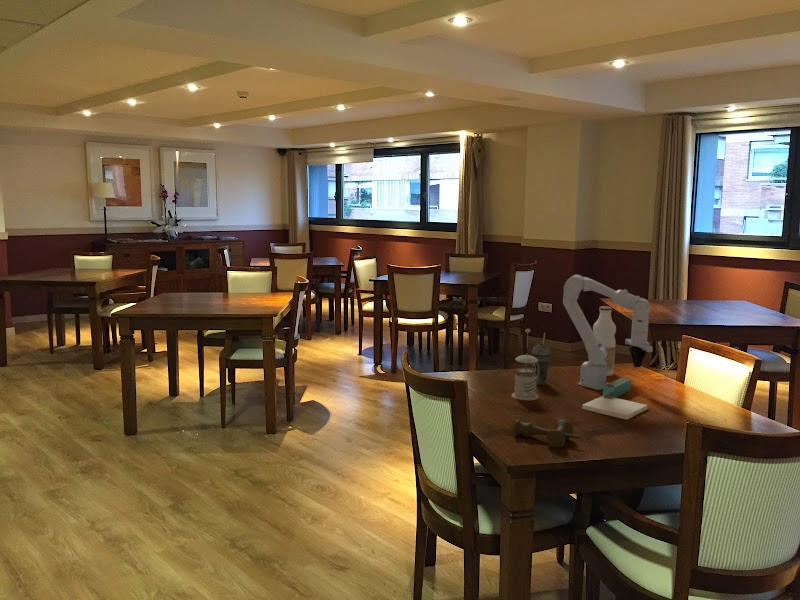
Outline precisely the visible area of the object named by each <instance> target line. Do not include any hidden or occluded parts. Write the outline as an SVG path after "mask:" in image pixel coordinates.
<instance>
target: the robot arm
mask: <svg viewBox="0 0 800 600" xmlns="http://www.w3.org/2000/svg"><path fill="white" fill-rule="evenodd" d="M582 291H583V292H588V291H589V292H590V291H593V292H595V293H598V294H600V295H603V296H605V297H606V298H607V297H608V298H609V299H611V300H612V301H613V304H614V305H617V306H620V307H621V308H624V309H626V310H628V311H632V312H633V313H632V319H631V333H630V338H625V342H624V343H625V345H629V346H631V347H628V351H629V353H630V356H631V359H632V363H633V367H634V368H641V366H642V364H643V362H644V358H645V357H646V355H647V353H652V352H654V351H653V349H654V347H653V346H651V345H650V342H648V333H649V322H650V321H649V317H650V316H649V313H650V307H651V305H650V303H649V301H648V300H647V299H646V298H644V297H640V295H634V294H632V293H630V292H629V291H628V290H627V289H625V288H624V289H617V290H615V289H613V288H611V287H609V286H607V285H605V284H603V283H601V282H599V281H596V280H594V279H593V278H590V277H587V276H583V275H581V274H573V275H572V276H570V277H569V278H568V279H567V280H566V281H565V284H564V285H563V295H562V304H563V306H564V308H565V310H566V312H567V314H568V315H569V317H570V319H571V321H572V323H573V324H574V326H575V328H576V330H577V332H578V334H579V336H580V338H581V339H582V342H583V344H584V346H585V351H586V353H587V359H588V360H587V361H584V362H583V363H582V364H581V366H580V372H579V373H580V374H579V382H578V385H579V386H582V387H587V388H590V389H592V390H596V391H599V390H603V387H604V385H606V384H607V376H606V374H607V363H606V361H605V358H606V357H607V349H606V348H605V347H604V346H603V345H601V343H600V341H599V340H598V339H597V338H596V336H595V335H594V332H593V328H592V327H591V325H590V324H589V322H588V320H587V318H586V316H585V314H584V312H583V310H582V308H581V307H580V305H579V303H578V299H579V296H580V293H581V292H582Z"/></svg>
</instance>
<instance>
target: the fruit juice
mask: <svg viewBox="0 0 800 600" xmlns="http://www.w3.org/2000/svg"><path fill="white" fill-rule="evenodd" d="M598 311H599V316H598V319H597V320H596V321H595V322H594V324H593V326H592V331H593V333H594V335H595V336H596V338H597V339H598V340H599V341H600V343H601V345H603V346H604V347H605V348H606V349H607V357H606V358H605V361H606V363H607V374H606V377H610V376H611V377H612V376H613V375H614V373H615V372H614V371H615V359H616V358H615V357H616V342H617V341H616V338H615V335H616V332H617V326H616V324H615V322H614V321H613V318H612V311H613V308H612V307H611V306H606V305H602V306H599V309H598Z"/></svg>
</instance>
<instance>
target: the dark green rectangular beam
mask: <svg viewBox="0 0 800 600" xmlns="http://www.w3.org/2000/svg"><path fill="white" fill-rule="evenodd" d="M631 389H632V379H628V378H624V377H620V378H618V379H616V380H613V381H611V382H609V383H606V385H604V387H603V389H602V396H604V395H610V396H614V398H619V397H621V396H623V395H624V394H627V393H628V392H631Z"/></svg>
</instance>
